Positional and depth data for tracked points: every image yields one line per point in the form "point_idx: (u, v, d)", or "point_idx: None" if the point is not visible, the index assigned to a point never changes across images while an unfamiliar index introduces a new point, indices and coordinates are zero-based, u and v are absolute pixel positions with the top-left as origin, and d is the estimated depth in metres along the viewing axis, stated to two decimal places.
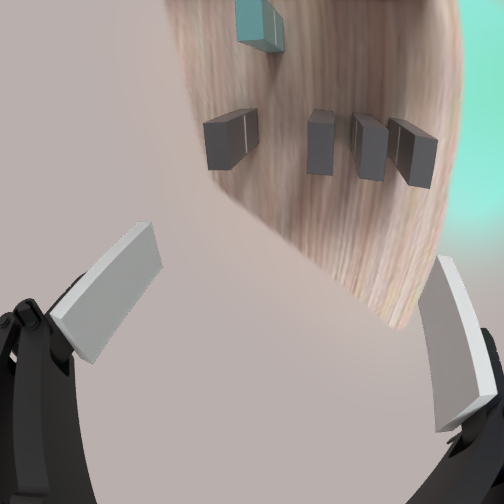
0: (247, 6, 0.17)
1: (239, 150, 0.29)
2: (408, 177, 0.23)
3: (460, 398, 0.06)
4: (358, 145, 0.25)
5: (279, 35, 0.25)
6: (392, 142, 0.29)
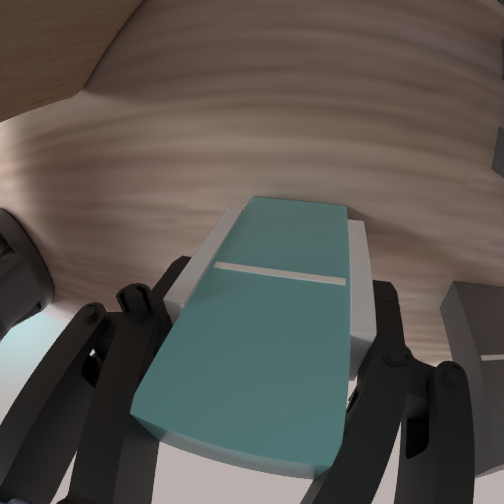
0: (187, 445, 0.06)
1: None
2: None
3: None
4: None
5: (305, 234, 0.11)
6: None
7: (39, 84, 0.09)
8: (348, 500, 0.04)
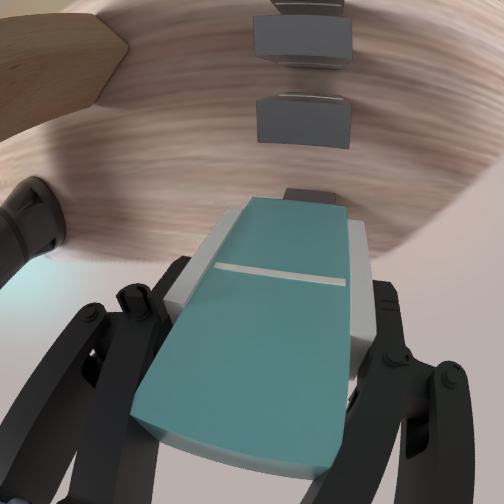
0: (187, 446, 0.06)
1: None
2: None
3: None
4: (306, 59, 0.14)
5: (305, 235, 0.11)
6: (314, 13, 0.15)
7: (76, 102, 0.23)
8: (348, 500, 0.04)
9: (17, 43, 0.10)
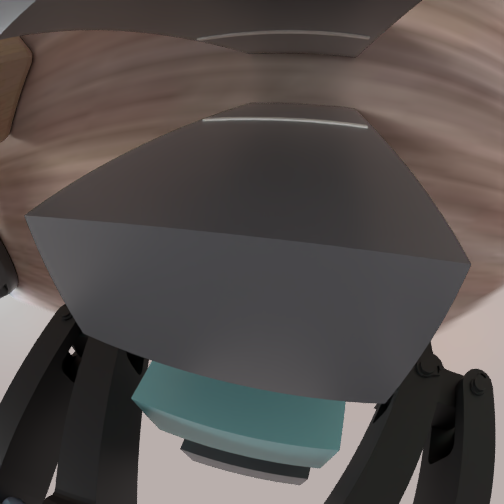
0: (191, 433, 0.06)
1: None
2: None
3: None
4: (247, 3, 0.03)
5: None
6: None
7: None
8: None
9: None
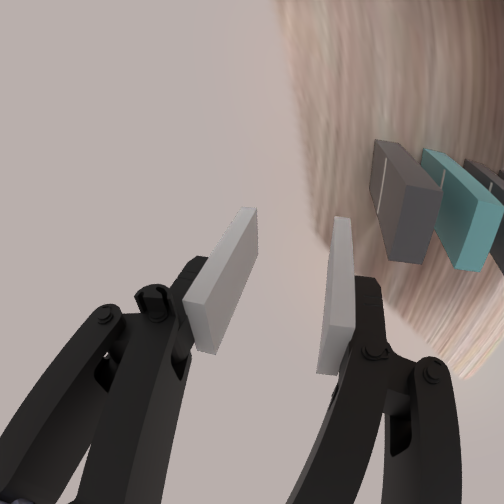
0: (485, 223, 0.12)
1: None
2: None
3: (325, 333, 0.08)
4: None
5: None
6: None
7: None
8: (331, 496, 0.04)
9: None
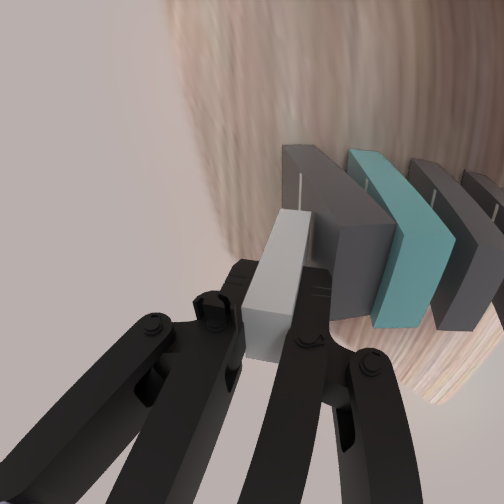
0: (420, 267, 0.09)
1: None
2: None
3: None
4: None
5: None
6: None
7: None
8: (278, 485, 0.04)
9: None
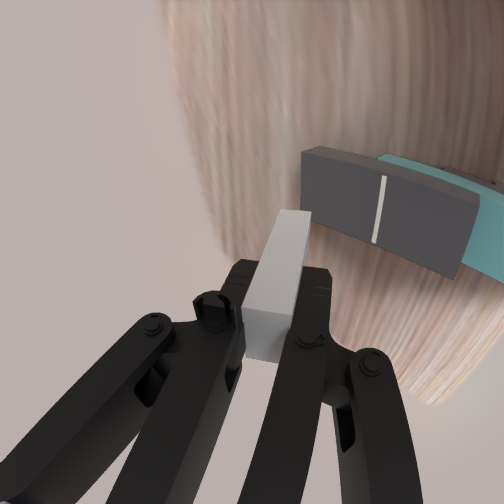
0: None
1: None
2: None
3: None
4: None
5: None
6: None
7: None
8: (278, 485, 0.04)
9: None
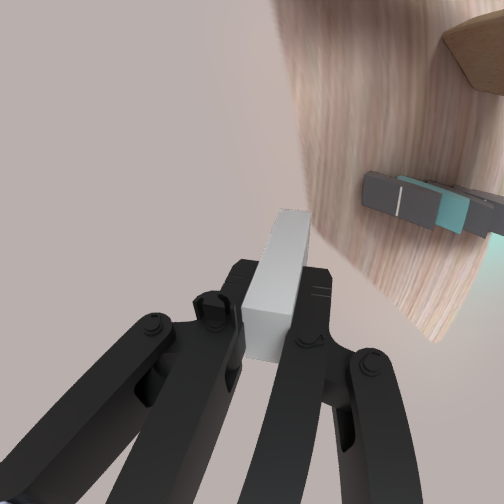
0: None
1: None
2: None
3: None
4: (498, 218, 0.29)
5: None
6: None
7: (458, 46, 0.20)
8: (278, 485, 0.04)
9: None
